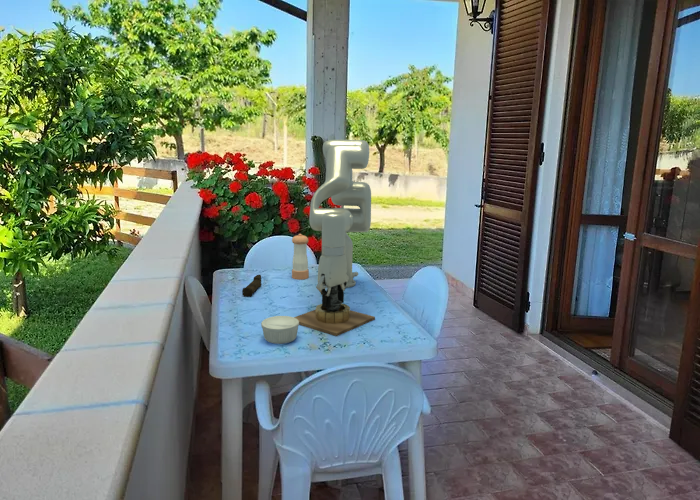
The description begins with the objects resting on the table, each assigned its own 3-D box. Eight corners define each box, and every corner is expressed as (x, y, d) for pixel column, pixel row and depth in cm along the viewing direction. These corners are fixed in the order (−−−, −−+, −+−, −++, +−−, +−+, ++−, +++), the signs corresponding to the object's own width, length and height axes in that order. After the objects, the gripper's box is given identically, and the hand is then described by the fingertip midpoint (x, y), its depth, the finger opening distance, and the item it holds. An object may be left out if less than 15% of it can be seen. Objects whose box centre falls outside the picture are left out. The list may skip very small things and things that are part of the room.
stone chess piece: (323, 309, 173) (323, 275, 171) (341, 309, 174) (341, 275, 171) (324, 315, 167) (324, 279, 165) (342, 315, 168) (342, 279, 165)
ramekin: (266, 348, 148) (266, 330, 147) (257, 334, 158) (257, 318, 157) (304, 342, 152) (304, 325, 151) (292, 329, 162) (292, 313, 161)
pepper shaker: (299, 274, 229) (299, 231, 225) (312, 277, 225) (312, 233, 221) (288, 277, 223) (287, 234, 219) (301, 280, 219) (300, 236, 215)
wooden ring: (330, 310, 178) (330, 300, 177) (356, 317, 172) (356, 307, 171) (309, 318, 170) (309, 308, 169) (334, 326, 163) (335, 315, 162)
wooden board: (329, 307, 185) (329, 304, 184) (374, 319, 173) (375, 316, 172) (289, 321, 169) (289, 318, 169) (336, 336, 157) (336, 333, 157)
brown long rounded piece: (252, 298, 195) (252, 286, 194) (242, 297, 195) (241, 285, 194) (266, 284, 213) (266, 273, 212) (257, 284, 214) (257, 273, 213)
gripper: (341, 245, 175) (340, 296, 179) (306, 253, 162) (306, 308, 165) (359, 248, 170) (357, 300, 174) (324, 257, 157) (324, 313, 161)
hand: (332, 304), depth 170 cm, fingers closed on stone chess piece, 5 cm apart
